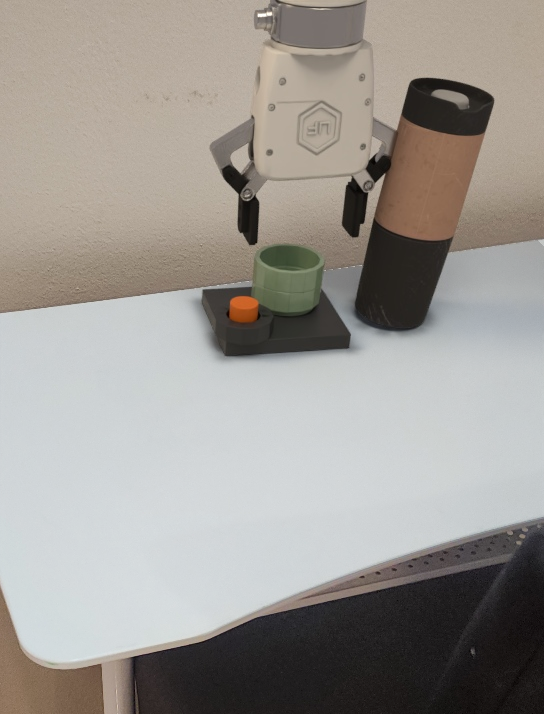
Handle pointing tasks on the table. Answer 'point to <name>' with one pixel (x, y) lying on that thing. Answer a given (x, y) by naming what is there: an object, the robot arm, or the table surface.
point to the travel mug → (421, 199)
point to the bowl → (287, 278)
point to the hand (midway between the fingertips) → (300, 235)
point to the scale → (273, 326)
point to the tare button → (243, 309)
